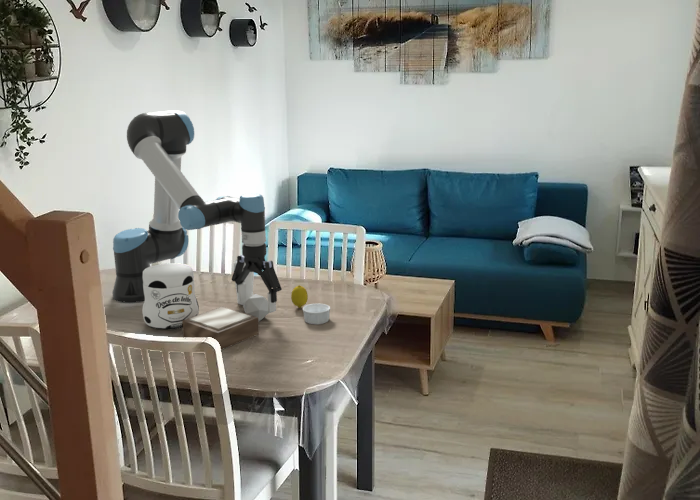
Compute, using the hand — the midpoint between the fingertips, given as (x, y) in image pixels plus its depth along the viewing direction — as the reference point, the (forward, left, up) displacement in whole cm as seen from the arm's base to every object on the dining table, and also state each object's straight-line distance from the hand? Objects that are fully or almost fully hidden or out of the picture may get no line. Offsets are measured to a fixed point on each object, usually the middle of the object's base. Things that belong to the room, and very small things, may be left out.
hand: (257, 307), depth 232 cm
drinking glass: (-14, +8, -4) cm, 17 cm away
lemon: (+4, +16, -4) cm, 17 cm away
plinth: (+2, -17, -4) cm, 18 cm away
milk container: (-18, -20, -4) cm, 27 cm away
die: (0, 0, -4) cm, 4 cm away
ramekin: (+16, +11, -4) cm, 20 cm away
